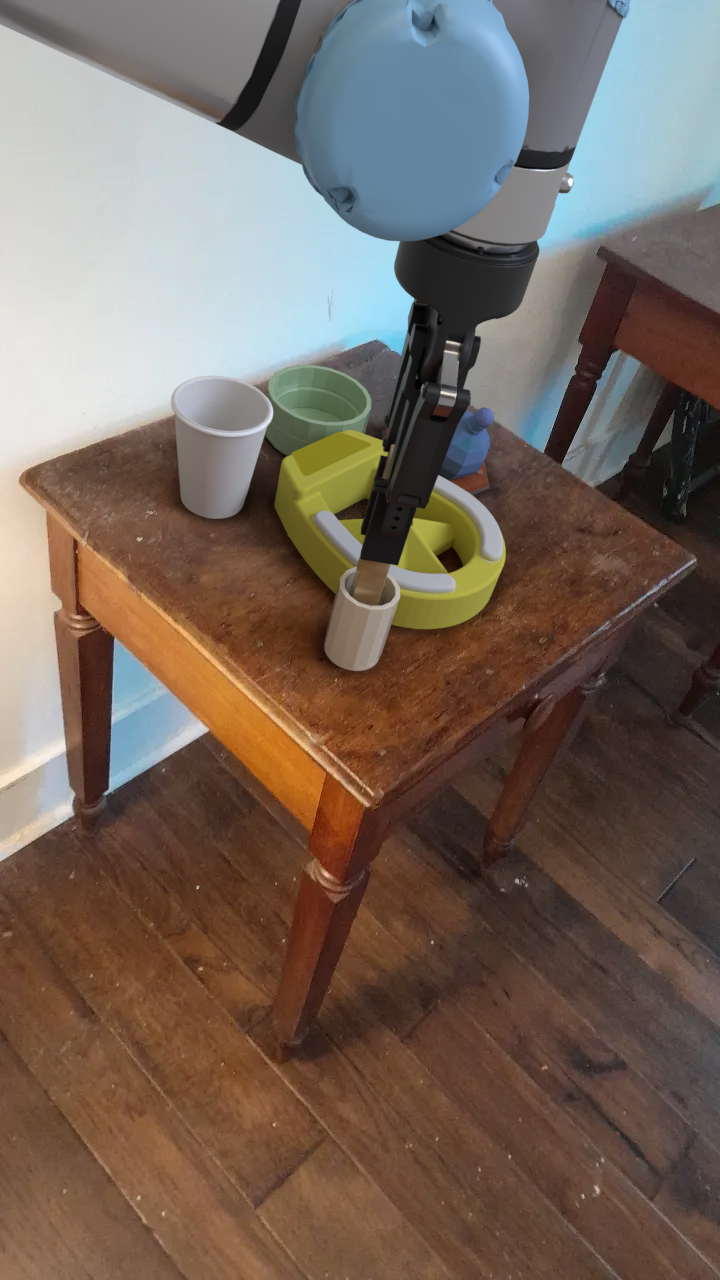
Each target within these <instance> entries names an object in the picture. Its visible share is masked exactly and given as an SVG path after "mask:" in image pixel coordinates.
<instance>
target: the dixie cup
mask: <svg viewBox="0 0 720 1280" xmlns="http://www.w3.org/2000/svg"><path fill="white" fill-rule="evenodd" d="M170 405H171V409H172V412H173V413H174V428H175V442H176V451H177V453H176V454H177V466H178V479H179V480H178V481H179V493H180V494H179V495H180V500H181V502H182V504H183V506H184V507H185V508H186V509H187V510H188V511H190V512H192V513H193V514H195V515H197V516H199V517H203V518H206V519H213V520H219V519H220V520H221V519H228V518H230V517H233V516H235V515H236V514H238V513H239V512H240V511H241V510H242V509H243V507H244V504H245V502H246V498H247V495H248V493H249V489H250V486H251V483H252V479H253V474H254V471H255V468H256V465H257V461H258V457H259V455H260V452H261V448H262V445H263V443H264V439H265V432H266V429H267V426H268V425H269V424H270V422H271V420H272V417H273V407H272V405H271V402H270V401H269V399H268V398H267V395H266V394H264V392H263V391H262V390H260V389H259V388H257V387H255V386H254V385H252V384H250V383H249V382H246V381H244V380H241V379H237V378H234V377H230V376H224V375H204V376H198V377H194V378H190V379H188V380H186V381H183V382H181V384H179V385H178V386H177V387H175V389H174V390H173V392H172V394H171V396H170Z"/></svg>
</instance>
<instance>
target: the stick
mask: <svg viewBox="0 0 720 1280" xmlns="http://www.w3.org/2000/svg"><path fill="white" fill-rule="evenodd" d="M394 446H395V445H393V444H392V445H391V448H390V451H389V455H388V458H387V462H386V465H385V469H384V473H383V476H382V478H384V479H386V476H387V472H388V468H389V465H390V461H391V457H392V453H393V450H394ZM390 565H391V564H386V563H380V562H373V561H367V560H361V554H360V557H359V561H358V564H357V568H356V571H355V575H354V579H353V582H352V586H351V589H350V593H349V595H350V596H351V597H352V598H354V599H355V600H356V601H358V602H360V603H363V604H366V605H369V606H378V603H379V600H380V597H381V593H382V590H383V587H384V584H385V581H386V578H387V575H388V571H389V568H390Z"/></svg>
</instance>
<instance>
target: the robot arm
mask: <svg viewBox="0 0 720 1280" xmlns="http://www.w3.org/2000/svg"><path fill="white" fill-rule="evenodd" d="M630 4H631V0H0V26H3V27H5V28H8V29H10V30H12V31H14V32H16V33H18V34H20V35H22V36H25V37H27V38H29V39H31V40H33V41H35V42H38V43H40V44H41V45H44V46H45V47H48V48H50V49H53V50H55V51H57V52H59V53H60V54H61V53H62V54H63V55H66V56H68V57H70V58H72V59H75V60H77V61H79V62H81V63H82V64H83V63H84V64H85V65H88V66H90V67H92V68H94V69H96V70H99V71H101V72H102V73H105V74H107V75H109V76H111V77H112V78H113V77H114V78H116V79H117V80H119V81H121V82H124V83H126V84H129V85H131V86H133V87H135V88H137V89H140V90H141V91H143V92H146V93H148V94H150V95H152V96H155V97H157V98H159V99H161V100H163V101H166V102H167V103H170V104H171V105H174V106H175V107H178V108H181V109H183V110H185V111H187V112H189V113H192V114H194V115H195V116H198V117H199V118H202V119H204V120H206V121H209V122H211V123H213V124H215V125H218V126H220V127H221V128H224V129H226V130H228V131H231V132H232V133H235V134H237V135H239V136H240V137H242V138H245V139H247V140H249V141H251V142H252V143H255V144H257V145H259V146H261V147H263V148H265V149H267V150H269V151H271V152H274V153H275V154H277V155H280V156H282V157H284V158H286V159H288V160H290V161H292V162H294V163H296V164H299V165H301V167H302V171H303V175H304V176H305V178H306V179H307V181H308V183H309V185H310V186H311V187H312V188H313V190H315V192H316V193H318V195H320V196H321V197H322V198H323V200H324V201H325V202H326V204H327V205H328V206H329V207H330V208H331V209H332V210H333V211H334V212H335V213H336V215H338V217H340V219H342V221H344V222H345V223H346V224H347V225H349V226H350V227H352V228H353V229H356V230H357V231H359V232H361V233H363V234H365V235H367V236H370V237H373V238H375V239H378V240H379V239H380V240H383V241H387V242H398V247H397V251H396V255H395V258H394V263H393V270H394V275H395V278H396V281H397V282H398V284H399V285H400V287H401V288H402V289H403V290H404V292H406V294H408V295H409V296H410V297H411V298H413V301H412V302H411V304H410V305H411V306H410V310H409V312H408V316H407V331H406V334H405V338H404V343H403V345H402V346H403V347H402V350H401V355H400V359H399V363H398V367H397V371H396V376H395V379H394V384H393V388H392V392H391V396H390V399H389V404H388V407H387V408H388V409H387V412H386V415H384V418H383V425H384V429H385V428H386V429H387V433H386V436H385V437H384V439H383V442H382V446H383V451H384V452H388V455H389V451H390V448H391V445H392V444H393V445H395V446H394V450H393V453H392V457H391V461H390V465H389V468H388V472H387V476H386V479H384V478H382V476H383V473H384V469H385V465H386V462H387V458H388V455H387V456H382V455H381V457H380V460H379V464H378V468H377V471H376V475H375V477H374V481H373V486H372V489H371V493H370V497H369V500H368V499H367V504H366V508H365V511H364V515H363V518H362V519H363V522H362V526H361V535H365V539H364V542H363V546H362V549H361V560H367V561H373V562H380V563H386V564H392V565H398V564H399V561H400V558H401V555H402V552H403V549H404V546H405V542H406V539H407V536H408V533H409V530H410V527H411V524H412V521H413V518H414V515H415V512H416V509H417V508H421V509H425V508H426V506H427V504H428V503H429V498H430V495H431V493H432V490H433V488H434V485H435V482H436V480H437V477H438V475H439V472H440V469H441V467H442V464H443V462H444V459H445V457H446V454H447V451H448V449H449V446H450V444H451V441H452V438H453V436H454V433H455V431H456V428H457V425H458V423H459V422H460V420H461V418H462V417H463V415H464V413H465V412H466V410H467V409H468V407H469V406H470V405H471V401H472V397H471V395H472V393H471V390H470V389H466V388H464V387H465V384H466V382H467V378H468V374H469V371H470V370H471V369H473V368H474V367H475V364H476V362H477V359H478V356H479V353H480V350H481V344H482V338H481V337H482V336H480V335H479V336H478V335H476V332H477V331H476V329H477V327H478V326H479V325H480V324H483V323H485V322H487V321H491V320H499V319H502V318H506V317H508V316H510V315H511V314H513V313H514V312H516V311H517V310H518V309H519V307H520V306H521V304H522V303H523V300H524V297H525V294H526V293H527V289H528V286H529V283H530V280H531V278H532V275H533V272H534V269H535V267H536V263H537V261H538V257H539V255H540V246H539V243H538V241H539V240H540V239H542V238H543V237H544V236H545V235H546V233H547V232H546V231H547V229H548V226H549V223H550V220H551V218H552V215H553V213H554V210H555V208H556V201H557V198H558V195H559V194H563V195H564V194H568V193H570V192H571V191H572V190H571V189H573V187H574V184H575V182H574V175H573V174H571V173H569V172H568V170H569V168H570V165H571V161H572V160H573V157H574V155H575V151H576V149H577V145H578V143H579V140H580V137H581V134H582V131H583V129H584V126H585V124H586V121H587V118H588V116H589V112H590V110H591V107H592V104H593V101H594V98H595V97H596V93H597V91H598V88H599V85H600V82H601V79H602V77H603V74H604V71H605V69H606V66H607V63H608V60H609V58H610V55H611V52H612V49H613V46H614V44H615V41H616V39H617V35H618V34H619V31H620V28H621V25H622V23H623V21H624V19H627V17H628V15H629V13H630V9H631V7H630V6H631V5H630ZM467 411H468V410H467Z"/></svg>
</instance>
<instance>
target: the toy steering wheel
mask: <svg viewBox="0 0 720 1280" xmlns="http://www.w3.org/2000/svg"><path fill="white" fill-rule="evenodd" d="M382 442H383V441H382V440H381V439H380V438H376V437H374V436H371V435H368V434H366V433H365V434H363V433H360V432H357V431H354V430H345V431H342V432H337V433H334V434H332V435H330V436H328V437H326V438H323V439H321V440H319V441H317V442H314V443H312V444H310V445H308V446H306V447H303V448H301V449H299V450H297V451H294V452H292V453H291V455H289V456H285V457H284V458H283V459H282V461H281V464H280V470H279V475H278V481H277V488H276V494H275V498H274V499H275V500H274V509H275V512H276V513H277V515H278V517H279V519H280V521H281V524H282V525H283V528H284V530H285V531H286V533H287V535H288V537H289V539H290V540H291V542H292V543H293V545H294V547H295V548H296V550H297V551H298V553H299V555H301V558H303V560H304V561H305V562H306V563H307V565H308V566H309V567H310V568H311V570H312V571H313V572H314V573H315V575H317V577H319V579H320V580H321V581H322V582H323V583H324V584H325V586H326V587H328V588H329V589H330V590H331V591H332V592H333V594H335V595H336V592H337V588H338V585H339V581H340V578H341V576H342V575H343V574H344V573H345V571H347V570H349V569H351V568H354V567H356V566H357V564H358V561H359V557H360V554H361V549H362V546H363V542H364V539H365V535H361V526H362V522H363V518H354V519H353V518H352V519H338V517H337V516H336V514H338V513H340V512H342V511H343V510H345V509H347V508H349V507H351V506H353V505H355V504H357V503H358V502H360V501H362V500H364V499H366V500H367V501H368V500H369V497H370V493H371V489H372V486H373V481H374V477H375V475H376V471H377V468H378V464H379V460H380V457H381V455H382V456H387V455H388V452H384V451H383V446H382ZM450 548H452V549H453V550H454V551H455V553H456V554H457V556H458V557H459V559H460V561H461V563H462V567H460V568H458V569H456V570H454V571H451V572H448V570H447V569H446V568H445V566H444V565H443V564H442V562H441V561H440V559H438V556H440V555H441V554H443V553H444V552H446V551H448V550H449V549H450ZM506 551H507V550H506V543H505V539H504V537H503V533H502V531H501V528H500V526H499V524H498V522H497V520H496V518H495V517H494V516H493V514H492V513H491V512H490V511H489V509H488V508H487V507H486V506H485V505H484V504H483V503H482V502H481V501H480V500H479V499H477V498H476V497H475V495H473V496H472V495H471V494H470V493H468V492H467V491H465V490H463V489H462V488H460V487H459V486H457V485H455V484H454V483H452V482H450V481H448V480H447V479H445V478H443V477H441V476H439V475H438V477H437V480H436V482H435V485H434V488H433V490H432V493H431V495H430V498H429V503H428V504H427V506H426V508H425V509H421V508H417V509H416V512H415V515H414V518H413V521H412V524H411V527H410V530H409V533H408V536H407V539H406V542H405V546H404V549H403V552H402V555H401V558H400V561H399V564H398V565H392V564H391V565H390V568H389V571H388V574H389V575H391V576H392V577H393V578H394V579H395V580H396V582H397V583H398V585H399V586H400V599H399V602H398V605H397V608H396V611H395V614H394V618H393V621H392V624H391V626H395V627H401V628H406V629H413V630H438V629H444V628H449V627H450V628H451V627H454V626H456V625H460V624H462V623H465V622H466V621H469V620H470V619H472V618H474V617H475V616H476V615H478V614H479V613H480V612H481V611H482V610H483V609H484V608H485V607H486V606H487V604H488V603H489V601H490V598H491V597H492V595H493V592H494V589H495V588H496V585H497V583H498V580H499V578H500V575H501V572H502V570H503V569H504V566H505V562H506V556H507V553H506Z"/></svg>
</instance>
